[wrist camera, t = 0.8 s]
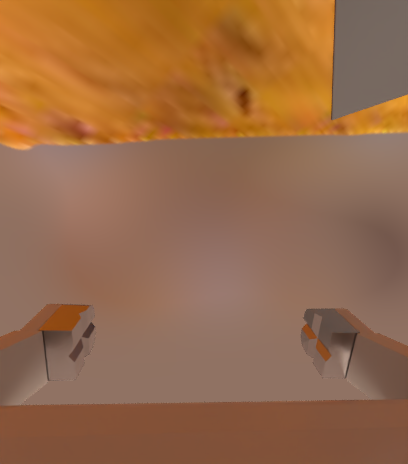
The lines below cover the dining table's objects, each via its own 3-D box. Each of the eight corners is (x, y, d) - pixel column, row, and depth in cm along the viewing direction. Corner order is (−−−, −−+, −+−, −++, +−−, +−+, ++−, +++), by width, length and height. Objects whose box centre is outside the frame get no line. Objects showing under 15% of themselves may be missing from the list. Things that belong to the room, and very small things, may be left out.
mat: (336, -26, 39) (337, -26, 39) (512, -105, 35) (515, -105, 35) (331, 119, 56) (332, 119, 56) (451, 78, 51) (452, 78, 51)
